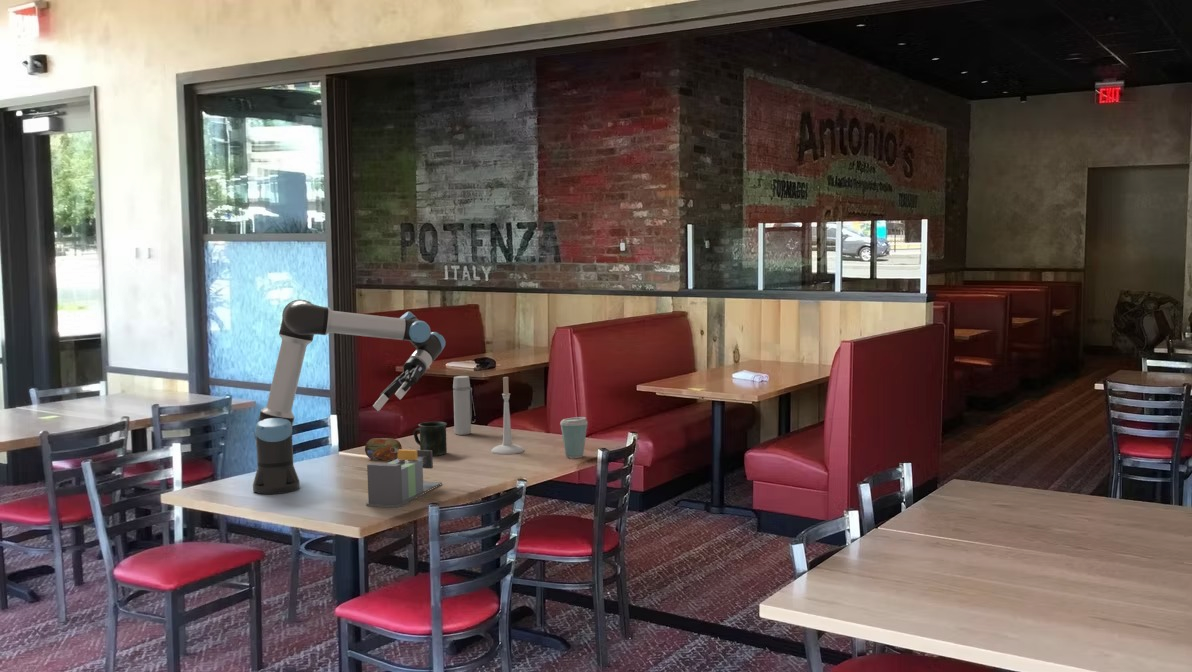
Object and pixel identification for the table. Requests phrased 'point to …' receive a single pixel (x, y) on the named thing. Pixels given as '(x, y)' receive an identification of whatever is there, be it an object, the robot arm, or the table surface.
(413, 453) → the orange rectangular plank
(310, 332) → the robot arm
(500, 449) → the candlestick
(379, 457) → the tin
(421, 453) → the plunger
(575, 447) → the disposable coffee cup
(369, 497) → the grey stepped block
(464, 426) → the water bottle
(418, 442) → the mug
